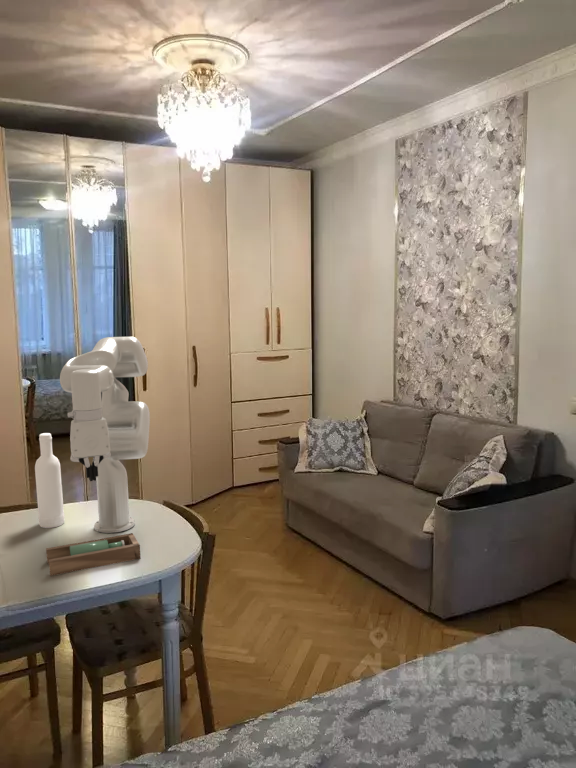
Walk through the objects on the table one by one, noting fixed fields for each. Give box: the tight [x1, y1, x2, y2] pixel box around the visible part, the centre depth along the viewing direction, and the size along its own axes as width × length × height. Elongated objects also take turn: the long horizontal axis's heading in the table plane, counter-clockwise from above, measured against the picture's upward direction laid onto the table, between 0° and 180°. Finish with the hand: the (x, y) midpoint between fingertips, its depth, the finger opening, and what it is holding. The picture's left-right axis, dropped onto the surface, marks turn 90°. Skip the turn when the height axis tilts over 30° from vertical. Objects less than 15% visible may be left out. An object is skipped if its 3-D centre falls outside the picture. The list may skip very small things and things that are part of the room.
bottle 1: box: [34, 432, 65, 529], centre depth 205 cm, size 8×8×30 cm
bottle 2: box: [69, 540, 125, 556], centre depth 179 cm, size 5×5×15 cm
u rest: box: [45, 532, 141, 577], centre depth 178 cm, size 10×24×4 cm, turn 115°
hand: (92, 479), depth 176 cm, fingers closed
